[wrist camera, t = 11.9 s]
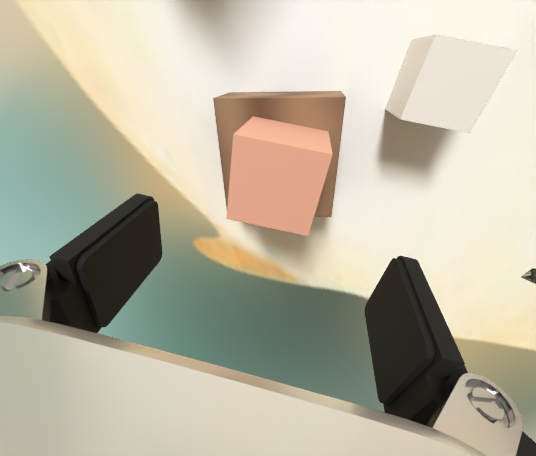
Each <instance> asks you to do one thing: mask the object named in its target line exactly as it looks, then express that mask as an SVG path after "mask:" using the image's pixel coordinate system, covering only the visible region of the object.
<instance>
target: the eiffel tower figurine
mask: <svg viewBox="0 0 536 456" xmlns="http://www.w3.org/2000/svg"><path fill="white" fill-rule="evenodd" d="M522 278H525V279H527V280H529V281H531V282H534V283H536V269H531V270H530V271H528V272H527V273H526V274H525V275H523V276H522Z"/></svg>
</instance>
